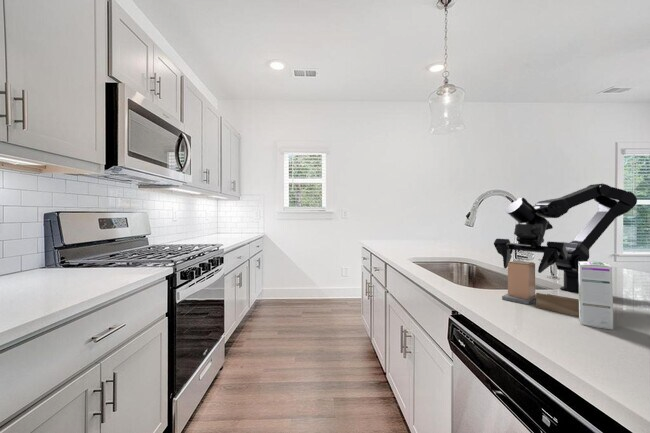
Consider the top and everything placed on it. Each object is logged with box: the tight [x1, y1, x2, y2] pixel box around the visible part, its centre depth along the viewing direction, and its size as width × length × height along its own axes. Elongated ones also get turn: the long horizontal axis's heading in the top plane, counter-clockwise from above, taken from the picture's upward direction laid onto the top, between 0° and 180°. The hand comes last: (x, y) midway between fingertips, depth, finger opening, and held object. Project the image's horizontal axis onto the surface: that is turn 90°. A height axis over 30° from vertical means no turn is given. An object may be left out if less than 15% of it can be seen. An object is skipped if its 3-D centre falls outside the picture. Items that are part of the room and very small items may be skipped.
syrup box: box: [578, 260, 614, 331], centre depth 70 cm, size 6×6×14 cm
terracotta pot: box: [507, 260, 536, 299], centre depth 90 cm, size 6×6×10 cm
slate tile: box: [501, 293, 536, 306], centre depth 90 cm, size 10×7×1 cm
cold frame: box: [535, 292, 579, 317], centre depth 81 cm, size 10×10×4 cm
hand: (521, 269), depth 90 cm, fingers open, 9 cm apart
